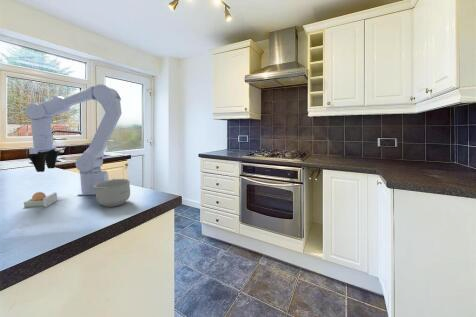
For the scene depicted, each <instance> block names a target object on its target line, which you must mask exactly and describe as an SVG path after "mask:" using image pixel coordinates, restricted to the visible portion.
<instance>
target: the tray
mask: <svg viewBox="0 0 476 317" xmlns="http://www.w3.org/2000/svg"><path fill="white" fill-rule="evenodd" d="M47 196H48V195H46V197H47ZM23 207H24V208H27V207H28V208H29V207H31V208H32V207H44V203H43V201H33V200H32V197H31V198H29V199H27V200H26V201H24V202H23Z"/></svg>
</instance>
